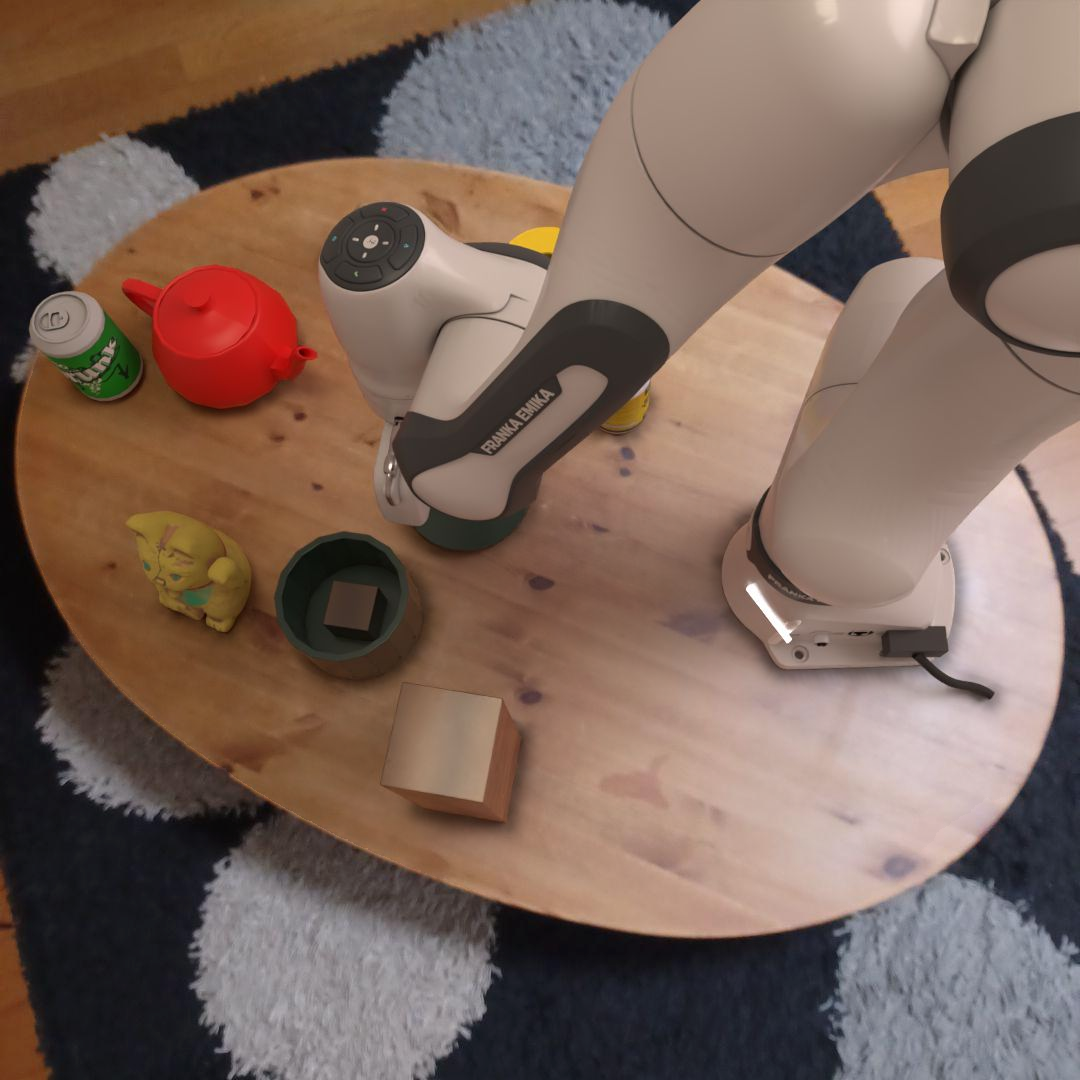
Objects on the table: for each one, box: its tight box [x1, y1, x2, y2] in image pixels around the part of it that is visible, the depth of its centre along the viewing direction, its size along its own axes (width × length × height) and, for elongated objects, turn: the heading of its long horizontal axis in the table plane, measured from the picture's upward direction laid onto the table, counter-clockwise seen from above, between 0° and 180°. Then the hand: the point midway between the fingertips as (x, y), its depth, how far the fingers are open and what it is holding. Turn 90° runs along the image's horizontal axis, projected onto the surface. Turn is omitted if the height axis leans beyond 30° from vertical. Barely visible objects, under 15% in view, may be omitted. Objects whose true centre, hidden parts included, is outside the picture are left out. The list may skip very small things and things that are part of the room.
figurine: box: [124, 510, 252, 633], centre depth 96 cm, size 11×9×15 cm
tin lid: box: [412, 505, 530, 553], centre depth 103 cm, size 13×13×5 cm
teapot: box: [121, 263, 319, 410], centre depth 106 cm, size 25×16×12 cm, turn 64°
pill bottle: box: [598, 377, 652, 435], centre depth 102 cm, size 6×6×12 cm
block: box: [323, 580, 387, 642], centre depth 99 cm, size 4×4×4 cm
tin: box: [273, 530, 424, 681], centre depth 97 cm, size 12×12×8 cm
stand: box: [379, 681, 522, 823], centre depth 86 cm, size 8×8×20 cm
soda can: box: [28, 290, 144, 402], centre depth 107 cm, size 8×8×12 cm
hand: (437, 442), depth 91 cm, fingers open, 8 cm apart
